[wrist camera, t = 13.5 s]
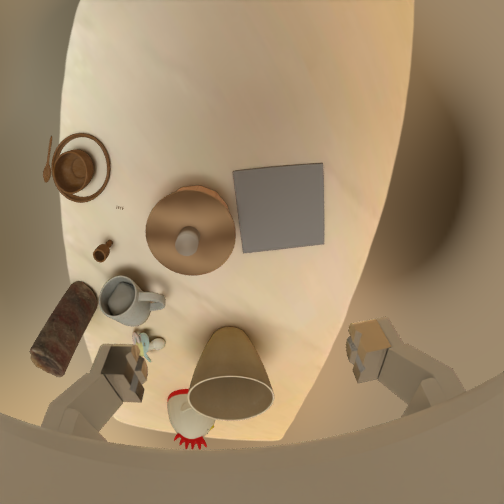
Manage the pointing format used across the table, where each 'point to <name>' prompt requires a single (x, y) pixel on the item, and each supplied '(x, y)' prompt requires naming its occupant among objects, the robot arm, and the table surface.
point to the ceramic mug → (128, 301)
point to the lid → (190, 232)
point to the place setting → (76, 178)
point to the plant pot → (230, 379)
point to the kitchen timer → (187, 420)
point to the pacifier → (147, 344)
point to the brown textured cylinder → (64, 330)
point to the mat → (280, 206)
